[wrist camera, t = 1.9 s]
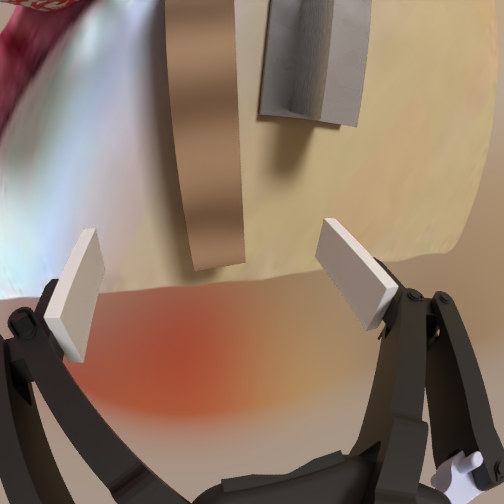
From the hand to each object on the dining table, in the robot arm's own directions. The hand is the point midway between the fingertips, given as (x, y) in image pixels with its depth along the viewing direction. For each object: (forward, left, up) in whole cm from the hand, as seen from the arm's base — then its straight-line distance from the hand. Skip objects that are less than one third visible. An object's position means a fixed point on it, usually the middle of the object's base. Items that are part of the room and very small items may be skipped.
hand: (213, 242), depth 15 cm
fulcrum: (+9, +12, -10) cm, 18 cm away
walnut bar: (0, +7, -10) cm, 12 cm away
